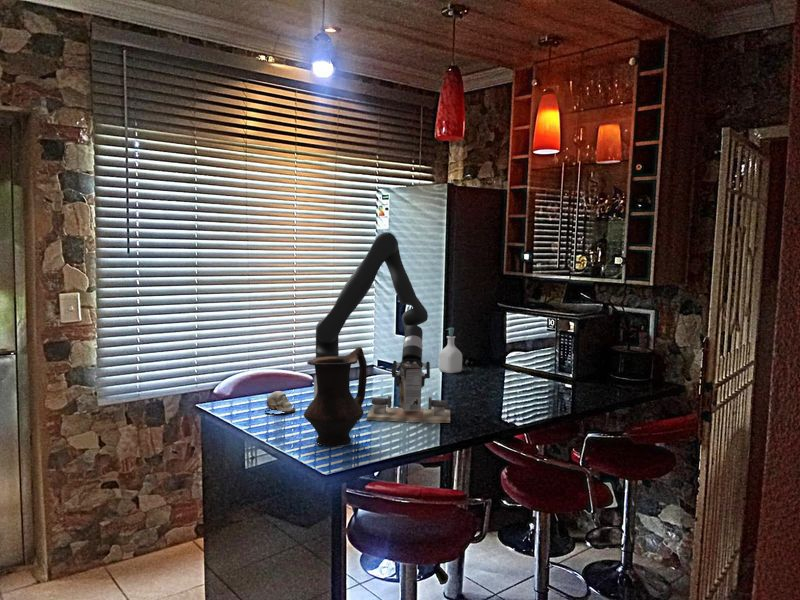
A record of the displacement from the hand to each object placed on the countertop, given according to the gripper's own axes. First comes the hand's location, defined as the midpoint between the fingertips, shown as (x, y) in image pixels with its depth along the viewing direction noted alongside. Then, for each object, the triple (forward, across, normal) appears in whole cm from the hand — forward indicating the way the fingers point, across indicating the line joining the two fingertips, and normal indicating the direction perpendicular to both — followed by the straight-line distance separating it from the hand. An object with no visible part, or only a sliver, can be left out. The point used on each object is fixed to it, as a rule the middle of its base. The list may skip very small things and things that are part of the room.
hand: (409, 386), depth 226 cm
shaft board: (+7, 0, +9) cm, 12 cm away
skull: (+7, -49, +10) cm, 51 cm away
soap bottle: (-56, +15, +74) cm, 94 cm away
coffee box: (+5, 0, +7) cm, 9 cm away
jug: (+31, -21, -15) cm, 41 cm away
